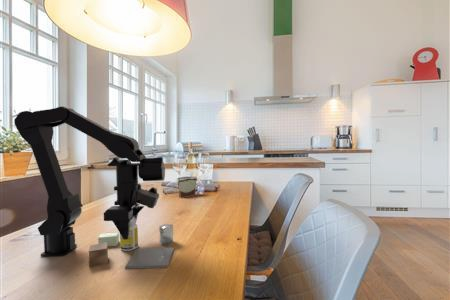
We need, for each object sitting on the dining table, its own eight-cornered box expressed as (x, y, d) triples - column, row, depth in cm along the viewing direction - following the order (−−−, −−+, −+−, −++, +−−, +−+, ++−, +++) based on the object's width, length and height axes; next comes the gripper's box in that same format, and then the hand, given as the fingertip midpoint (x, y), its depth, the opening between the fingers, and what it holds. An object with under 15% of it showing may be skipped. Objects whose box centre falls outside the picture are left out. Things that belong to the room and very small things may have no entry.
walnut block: (89, 267, 63) (88, 251, 62) (90, 260, 66) (90, 245, 66) (107, 264, 64) (106, 248, 64) (107, 257, 68) (107, 242, 68)
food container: (191, 193, 147) (191, 175, 146) (197, 194, 142) (197, 176, 142) (172, 196, 139) (171, 178, 139) (177, 198, 134) (177, 179, 134)
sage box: (98, 247, 74) (98, 237, 74) (101, 243, 77) (100, 233, 77) (116, 246, 75) (116, 236, 75) (118, 242, 78) (118, 232, 78)
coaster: (125, 268, 62) (125, 266, 61) (137, 250, 71) (137, 248, 71) (167, 267, 62) (167, 265, 62) (173, 249, 72) (173, 247, 72)
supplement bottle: (132, 243, 77) (131, 215, 76) (141, 247, 74) (140, 218, 73) (117, 248, 73) (116, 219, 73) (125, 253, 70) (125, 222, 70)
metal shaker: (158, 245, 75) (157, 228, 74) (161, 240, 79) (160, 224, 78) (172, 245, 75) (171, 228, 75) (174, 240, 79) (173, 224, 79)
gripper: (147, 187, 64) (148, 249, 64) (162, 176, 82) (163, 224, 83) (101, 188, 63) (103, 250, 64) (127, 176, 82) (129, 225, 82)
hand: (128, 235), depth 73 cm, fingers closed on supplement bottle, 5 cm apart
